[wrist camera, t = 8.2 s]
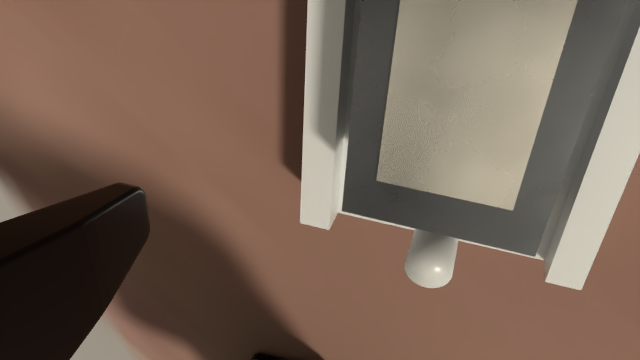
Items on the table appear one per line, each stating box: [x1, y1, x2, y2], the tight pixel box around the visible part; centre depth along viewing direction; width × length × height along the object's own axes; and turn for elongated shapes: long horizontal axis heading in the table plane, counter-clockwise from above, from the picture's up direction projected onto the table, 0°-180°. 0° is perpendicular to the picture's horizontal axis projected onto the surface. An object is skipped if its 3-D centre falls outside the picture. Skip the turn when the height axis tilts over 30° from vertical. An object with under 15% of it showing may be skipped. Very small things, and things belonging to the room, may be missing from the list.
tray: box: [300, 0, 640, 290], centre depth 16 cm, size 16×10×4 cm
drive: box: [342, 0, 626, 257], centre depth 16 cm, size 10×6×4 cm, turn 176°
